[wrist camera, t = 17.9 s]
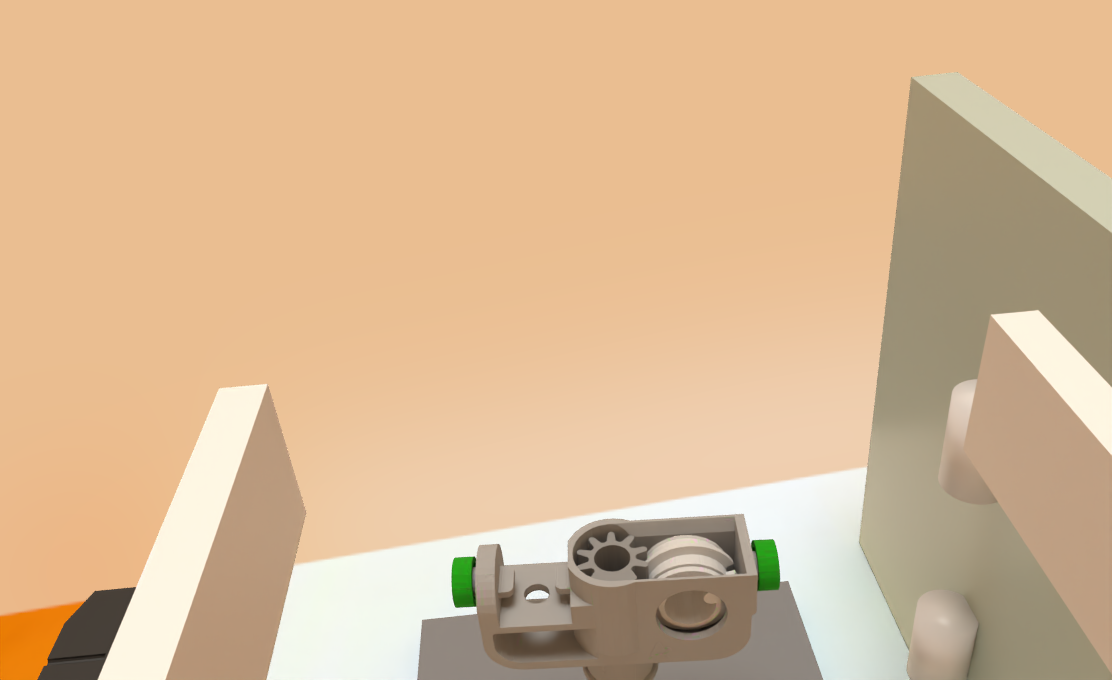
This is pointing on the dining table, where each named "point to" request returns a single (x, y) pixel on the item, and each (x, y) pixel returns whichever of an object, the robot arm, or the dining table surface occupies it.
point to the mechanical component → (623, 597)
